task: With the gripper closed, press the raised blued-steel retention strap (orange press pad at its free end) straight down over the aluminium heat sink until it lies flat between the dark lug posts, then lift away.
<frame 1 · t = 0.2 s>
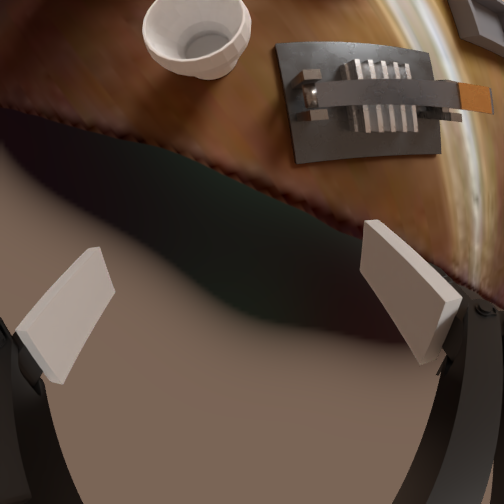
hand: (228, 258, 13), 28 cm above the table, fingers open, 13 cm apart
strap: (401, 91, 22), point 12 cm above the table, hinge at 30.0°
cup: (210, 56, 30), on the table
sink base: (369, 98, 33), on the table
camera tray: (482, 22, 22), on the table
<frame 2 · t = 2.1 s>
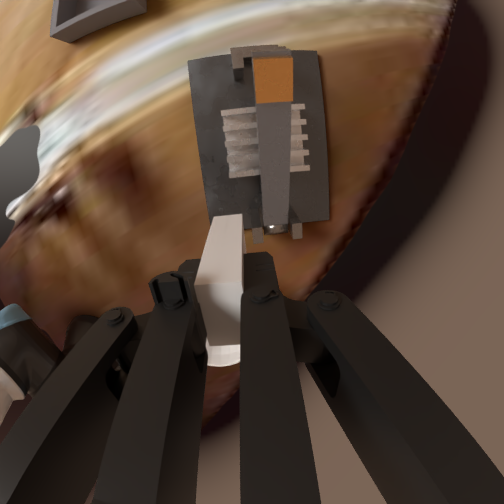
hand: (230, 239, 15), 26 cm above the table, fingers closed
strap: (274, 160, 26), point 12 cm above the table, hinge at 30.0°
cup: (221, 279, 46), on the table
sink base: (262, 138, 36), on the table
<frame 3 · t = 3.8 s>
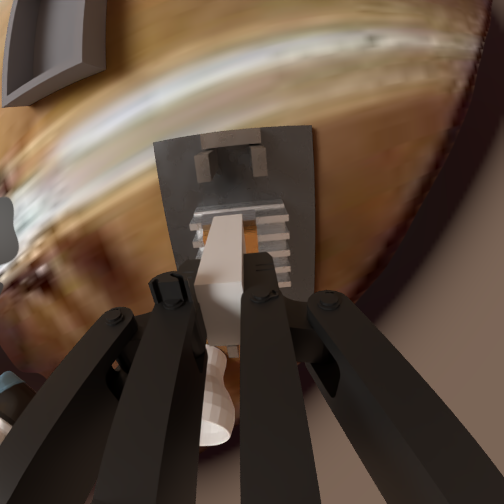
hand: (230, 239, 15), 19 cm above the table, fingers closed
strap: (245, 304, 24), point 12 cm above the table, hinge at 28.9°, touching gripper
cup: (204, 358, 44), on the table
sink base: (242, 234, 35), on the table
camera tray: (63, 26, 20), on the table
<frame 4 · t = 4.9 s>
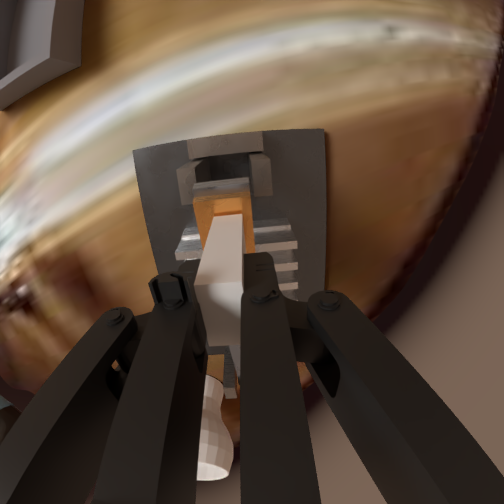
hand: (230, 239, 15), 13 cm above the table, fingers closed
strap: (242, 319, 21), point 9 cm above the table, hinge at 12.6°, touching gripper
cup: (199, 386, 39), on the table
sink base: (240, 258, 29), on the table
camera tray: (39, 20, 14), on the table
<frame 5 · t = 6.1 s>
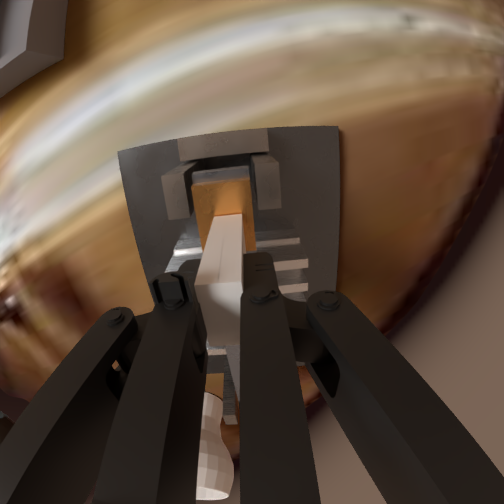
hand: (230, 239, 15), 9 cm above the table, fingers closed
strap: (242, 330, 19), point 8 cm above the table, hinge at 2.6°, touching gripper
cup: (198, 402, 36), on the table
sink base: (241, 273, 26), on the table
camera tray: (23, 12, 11), on the table
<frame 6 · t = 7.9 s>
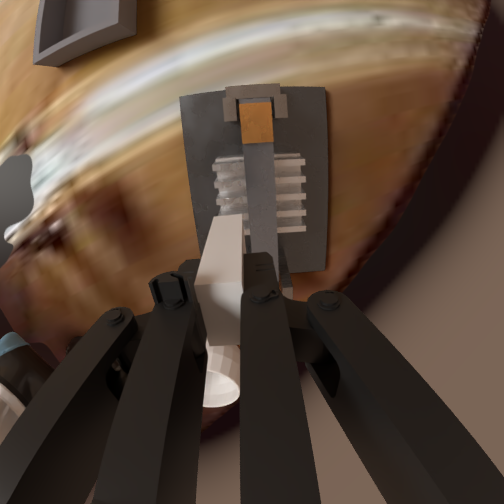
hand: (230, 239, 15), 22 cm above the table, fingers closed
strap: (262, 206, 29), point 8 cm above the table, hinge at 2.6°
cup: (214, 318, 46), on the table
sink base: (259, 185, 36), on the table
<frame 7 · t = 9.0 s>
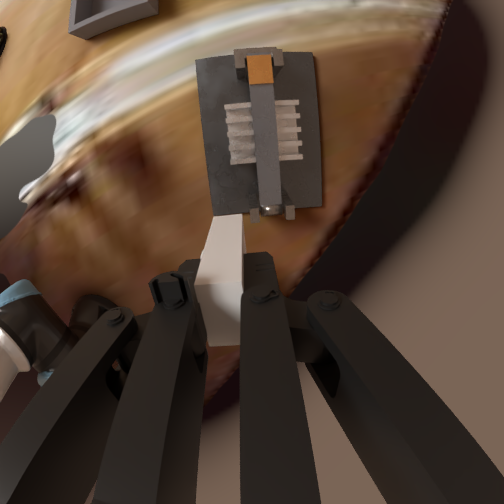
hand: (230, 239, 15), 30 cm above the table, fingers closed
strap: (265, 134, 33), point 8 cm above the table, hinge at 2.6°
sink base: (261, 130, 40), on the table
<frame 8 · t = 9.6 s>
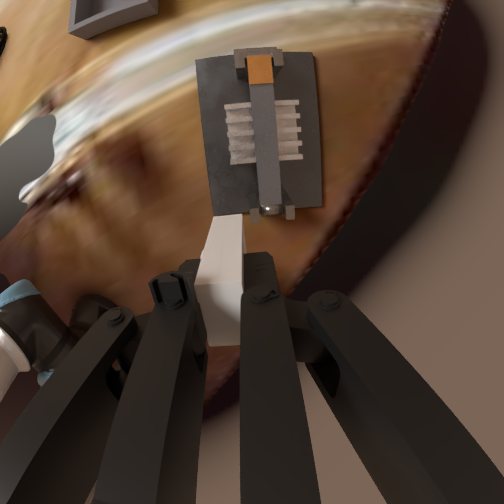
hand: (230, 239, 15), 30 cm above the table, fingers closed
strap: (265, 134, 33), point 8 cm above the table, hinge at 2.6°
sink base: (261, 130, 40), on the table
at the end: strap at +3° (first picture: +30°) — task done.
